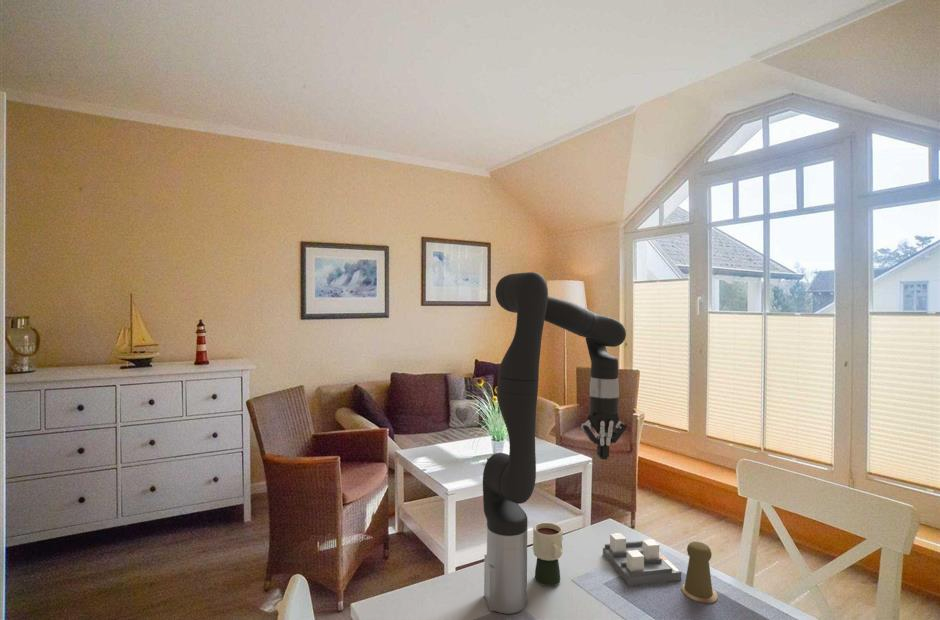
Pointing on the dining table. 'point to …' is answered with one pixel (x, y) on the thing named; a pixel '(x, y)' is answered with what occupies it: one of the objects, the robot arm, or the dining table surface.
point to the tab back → (617, 542)
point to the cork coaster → (702, 600)
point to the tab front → (635, 560)
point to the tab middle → (650, 549)
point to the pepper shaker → (699, 571)
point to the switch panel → (653, 568)
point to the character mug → (547, 552)
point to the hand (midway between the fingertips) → (602, 458)
